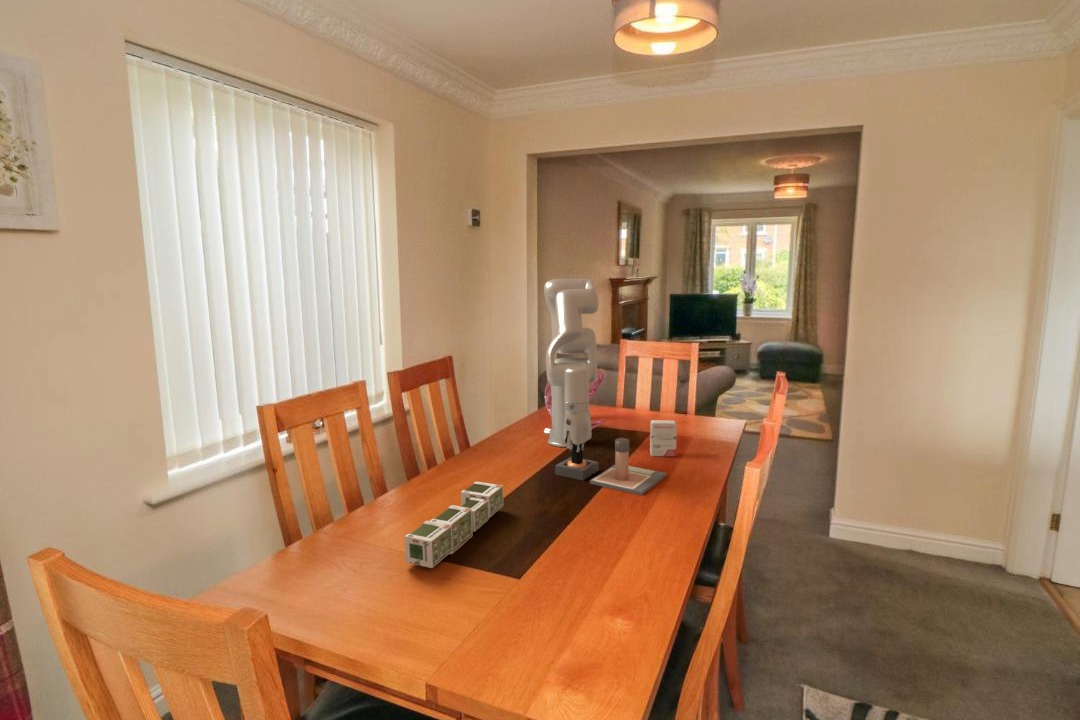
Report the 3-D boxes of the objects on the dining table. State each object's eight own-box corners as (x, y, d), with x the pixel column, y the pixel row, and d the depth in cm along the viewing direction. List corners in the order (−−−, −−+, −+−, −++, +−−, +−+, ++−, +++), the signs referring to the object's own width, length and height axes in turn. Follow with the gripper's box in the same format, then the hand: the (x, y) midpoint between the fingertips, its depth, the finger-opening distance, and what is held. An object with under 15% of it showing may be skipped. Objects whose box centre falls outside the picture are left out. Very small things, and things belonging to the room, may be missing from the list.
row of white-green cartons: (476, 506, 164) (475, 480, 162) (504, 510, 160) (503, 484, 159) (400, 566, 132) (398, 535, 131) (432, 573, 129) (430, 541, 127)
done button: (563, 471, 187) (563, 463, 187) (573, 465, 192) (573, 458, 192) (580, 474, 184) (580, 467, 184) (589, 469, 189) (589, 461, 188)
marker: (612, 479, 179) (612, 440, 177) (618, 474, 183) (618, 437, 181) (625, 481, 177) (625, 443, 175) (631, 477, 180) (631, 439, 178)
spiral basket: (637, 378, 237) (583, 338, 244) (607, 409, 216) (549, 364, 222) (606, 423, 254) (556, 385, 260) (575, 456, 233) (522, 413, 239)
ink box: (674, 452, 207) (675, 419, 205) (676, 457, 202) (677, 423, 200) (649, 452, 207) (650, 419, 205) (650, 456, 203) (651, 423, 201)
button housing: (555, 474, 187) (555, 465, 186) (571, 465, 195) (571, 456, 195) (582, 480, 181) (582, 471, 181) (598, 470, 190) (598, 461, 189)
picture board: (589, 483, 179) (589, 479, 179) (616, 466, 194) (616, 462, 193) (641, 495, 169) (641, 491, 169) (666, 476, 184) (666, 472, 184)
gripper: (574, 413, 176) (575, 472, 179) (599, 403, 189) (598, 458, 192) (553, 409, 181) (554, 467, 184) (578, 400, 193) (578, 454, 196)
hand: (577, 462), depth 188 cm, fingers closed
